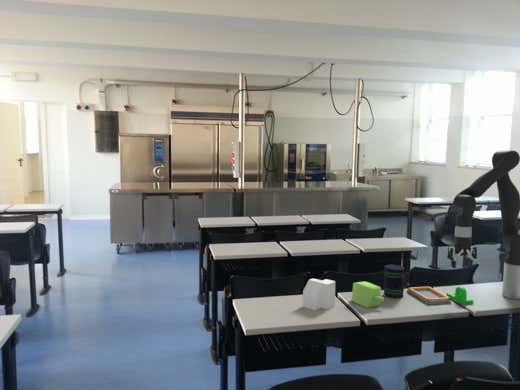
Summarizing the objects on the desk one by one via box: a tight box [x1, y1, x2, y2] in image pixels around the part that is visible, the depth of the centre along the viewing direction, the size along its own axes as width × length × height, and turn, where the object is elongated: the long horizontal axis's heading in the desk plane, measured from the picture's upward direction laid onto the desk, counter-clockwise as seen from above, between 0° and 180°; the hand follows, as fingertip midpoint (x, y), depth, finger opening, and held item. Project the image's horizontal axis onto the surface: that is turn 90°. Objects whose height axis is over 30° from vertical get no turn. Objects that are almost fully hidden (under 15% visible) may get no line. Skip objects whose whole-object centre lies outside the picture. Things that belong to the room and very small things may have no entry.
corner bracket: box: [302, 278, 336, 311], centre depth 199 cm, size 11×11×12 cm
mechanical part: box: [445, 286, 474, 305], centre depth 209 cm, size 12×6×8 cm, turn 13°
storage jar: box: [383, 264, 405, 299], centre depth 215 cm, size 10×10×15 cm
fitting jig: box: [406, 285, 452, 306], centre depth 213 cm, size 12×20×2 cm, turn 11°
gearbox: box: [351, 281, 385, 309], centre depth 203 cm, size 18×10×10 cm, turn 31°
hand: (461, 267), depth 208 cm, fingers open, 8 cm apart
